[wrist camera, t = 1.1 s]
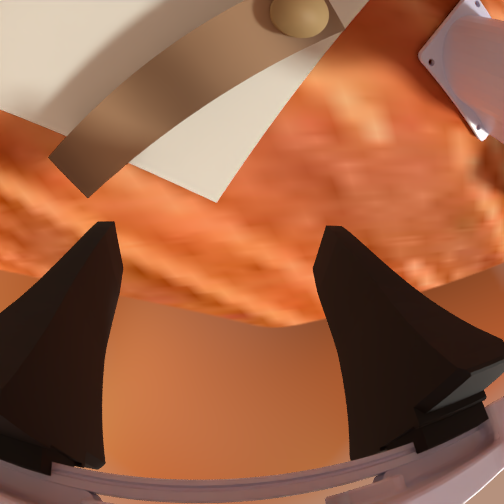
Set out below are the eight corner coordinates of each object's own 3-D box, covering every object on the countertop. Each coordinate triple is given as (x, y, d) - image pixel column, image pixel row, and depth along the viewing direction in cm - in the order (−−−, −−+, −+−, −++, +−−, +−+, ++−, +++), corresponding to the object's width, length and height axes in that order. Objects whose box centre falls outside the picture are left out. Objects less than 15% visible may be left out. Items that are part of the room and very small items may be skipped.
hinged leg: (292, -19, 10) (314, -32, 7) (322, 28, 12) (351, 30, 9) (71, 135, 14) (42, 163, 11) (104, 171, 16) (84, 204, 13)
